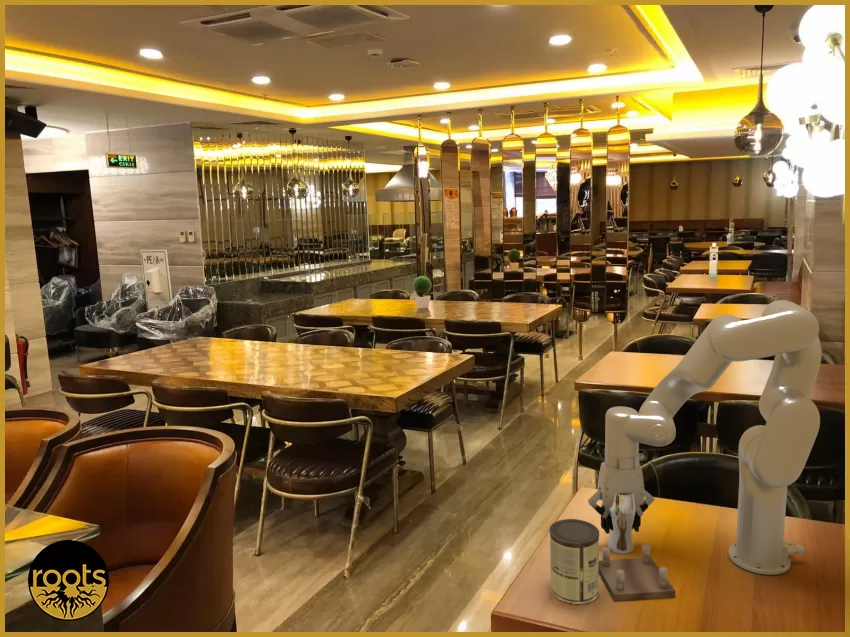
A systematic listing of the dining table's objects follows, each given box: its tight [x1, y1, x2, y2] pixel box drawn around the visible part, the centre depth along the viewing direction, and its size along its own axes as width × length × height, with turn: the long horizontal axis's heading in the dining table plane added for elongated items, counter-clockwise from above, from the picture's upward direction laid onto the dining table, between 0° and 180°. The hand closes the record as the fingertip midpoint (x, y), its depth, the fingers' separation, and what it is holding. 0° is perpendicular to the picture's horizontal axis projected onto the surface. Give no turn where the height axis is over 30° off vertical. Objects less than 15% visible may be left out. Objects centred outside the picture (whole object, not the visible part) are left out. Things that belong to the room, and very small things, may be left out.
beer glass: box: [606, 493, 636, 555], centre depth 153 cm, size 7×7×15 cm
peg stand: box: [598, 543, 676, 602], centre depth 140 cm, size 13×13×6 cm
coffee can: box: [549, 518, 600, 605], centre depth 137 cm, size 10×10×14 cm
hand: (620, 529), depth 154 cm, fingers closed on beer glass, 6 cm apart
